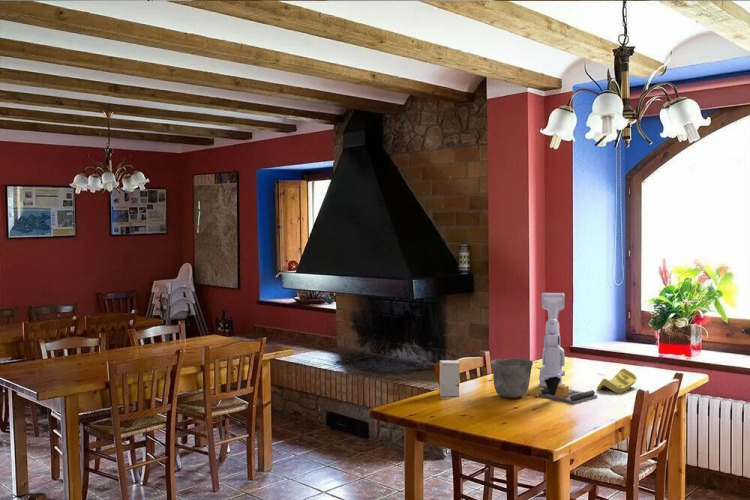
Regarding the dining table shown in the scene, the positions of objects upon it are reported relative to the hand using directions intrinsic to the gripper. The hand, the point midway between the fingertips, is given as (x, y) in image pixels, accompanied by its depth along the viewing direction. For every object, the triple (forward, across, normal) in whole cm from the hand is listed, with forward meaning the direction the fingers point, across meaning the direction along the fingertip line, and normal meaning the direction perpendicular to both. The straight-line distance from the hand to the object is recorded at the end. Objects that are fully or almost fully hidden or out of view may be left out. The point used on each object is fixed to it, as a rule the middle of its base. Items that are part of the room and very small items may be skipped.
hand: (552, 395), depth 289 cm
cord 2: (+1, +10, -8) cm, 13 cm away
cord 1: (+1, +10, +8) cm, 13 cm away
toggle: (+1, +6, 0) cm, 7 cm away
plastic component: (+3, +40, -5) cm, 41 cm away
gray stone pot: (+3, -6, +16) cm, 17 cm away
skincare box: (+3, -26, +35) cm, 43 cm away
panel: (+2, +10, 0) cm, 11 cm away
